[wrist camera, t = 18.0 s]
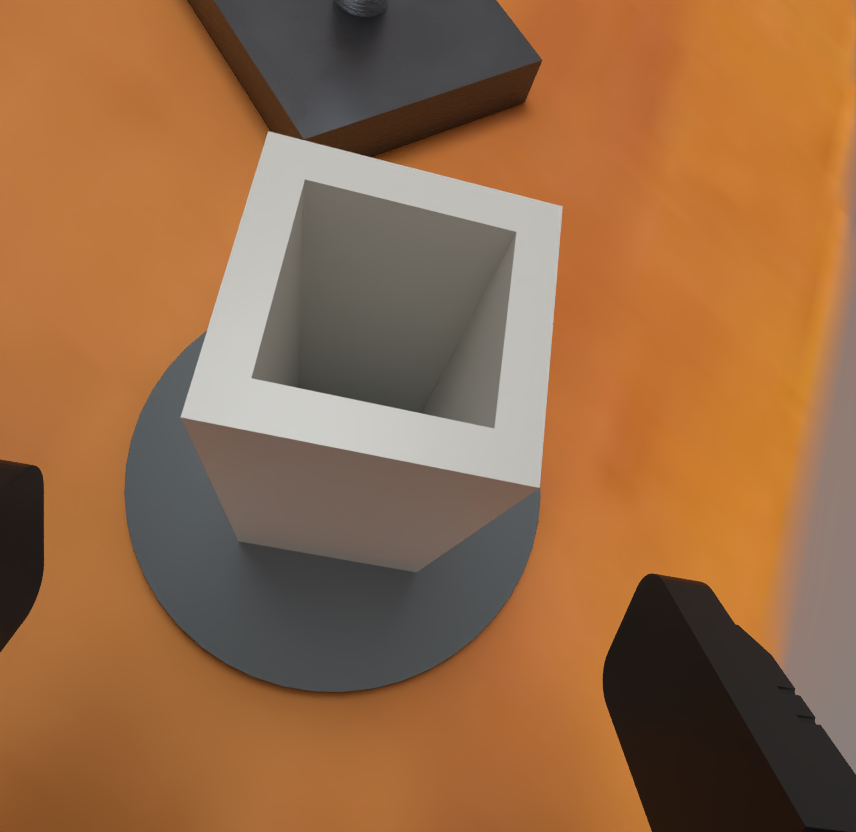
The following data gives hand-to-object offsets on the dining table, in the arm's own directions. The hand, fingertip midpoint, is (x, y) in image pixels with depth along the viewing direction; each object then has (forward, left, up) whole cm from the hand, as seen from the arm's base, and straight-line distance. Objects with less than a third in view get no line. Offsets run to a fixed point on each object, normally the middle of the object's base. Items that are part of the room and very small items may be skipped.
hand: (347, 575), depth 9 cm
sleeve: (+3, +3, -10) cm, 10 cm away
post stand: (+12, +18, -10) cm, 24 cm away
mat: (+3, +3, -10) cm, 11 cm away
